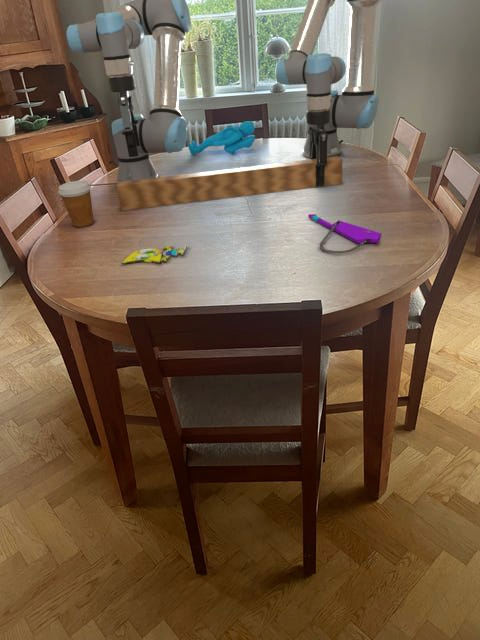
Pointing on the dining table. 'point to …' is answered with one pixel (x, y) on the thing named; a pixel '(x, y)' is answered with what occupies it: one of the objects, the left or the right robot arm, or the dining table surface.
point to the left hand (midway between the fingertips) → (134, 151)
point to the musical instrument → (348, 233)
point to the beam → (225, 183)
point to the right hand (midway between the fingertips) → (317, 182)
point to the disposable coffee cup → (77, 202)
